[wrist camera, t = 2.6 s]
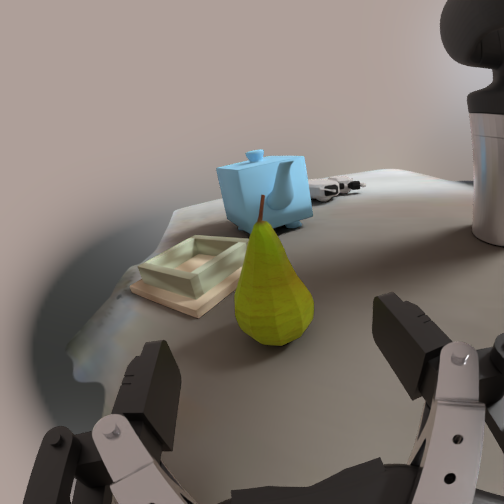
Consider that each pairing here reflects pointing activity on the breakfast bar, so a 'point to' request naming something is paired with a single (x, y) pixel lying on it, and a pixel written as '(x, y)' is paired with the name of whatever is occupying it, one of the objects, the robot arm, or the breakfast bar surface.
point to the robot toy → (332, 187)
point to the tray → (193, 273)
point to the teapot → (266, 190)
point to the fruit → (270, 290)
